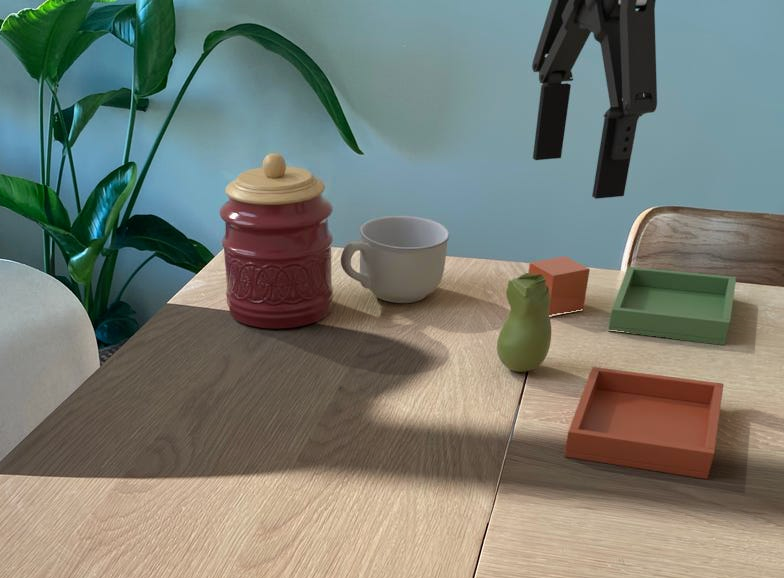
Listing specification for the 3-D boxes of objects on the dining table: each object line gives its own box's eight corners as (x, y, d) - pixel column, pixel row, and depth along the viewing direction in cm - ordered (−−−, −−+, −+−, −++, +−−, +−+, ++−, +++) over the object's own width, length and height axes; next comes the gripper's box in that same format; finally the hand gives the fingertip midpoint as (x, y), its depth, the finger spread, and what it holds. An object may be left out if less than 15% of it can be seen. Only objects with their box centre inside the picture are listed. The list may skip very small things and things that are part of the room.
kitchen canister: (354, 314, 117) (355, 155, 106) (261, 340, 112) (252, 176, 101) (297, 283, 126) (292, 133, 115) (208, 305, 121) (194, 151, 110)
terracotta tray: (707, 479, 86) (714, 453, 85) (563, 457, 90) (568, 431, 88) (717, 407, 97) (723, 383, 95) (588, 390, 100) (592, 366, 99)
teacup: (423, 274, 127) (427, 210, 122) (459, 303, 119) (464, 236, 114) (323, 289, 124) (322, 224, 119) (353, 320, 116) (353, 252, 111)
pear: (555, 375, 103) (569, 280, 97) (510, 383, 102) (522, 288, 96) (528, 355, 107) (540, 263, 101) (485, 363, 106) (494, 270, 100)
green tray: (724, 345, 108) (730, 322, 106) (608, 331, 112) (612, 309, 110) (730, 298, 118) (736, 276, 117) (624, 287, 122) (628, 266, 120)
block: (583, 311, 116) (589, 268, 113) (547, 318, 115) (553, 275, 112) (559, 297, 120) (565, 255, 117) (524, 303, 119) (529, 262, 115)
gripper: (514, -109, 88) (491, 147, 101) (648, -94, 69) (597, 218, 83) (592, -113, 89) (558, 141, 103) (744, -98, 70) (678, 210, 84)
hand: (575, 176), depth 93 cm, fingers open, 13 cm apart
